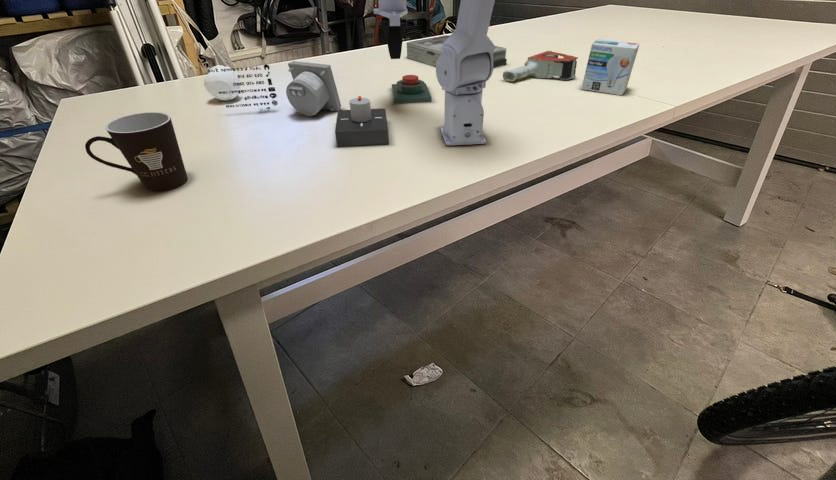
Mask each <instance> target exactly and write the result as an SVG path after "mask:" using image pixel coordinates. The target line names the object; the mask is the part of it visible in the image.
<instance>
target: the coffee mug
mask: <svg viewBox="0 0 836 480" xmlns="http://www.w3.org/2000/svg"><path fill="white" fill-rule="evenodd" d="M105 130H106V132H107V134H108V135H109V136H110V137H108V136H102V135H101V136H99V135H98V136H93V137H91V138H88V140H87V141H86V142H85V144H84V148H85V151H86V154H87V155H88V156H89V157H90V158H92V160H95V161H96V162H98V163H101V164H103V165H106V166H107V167H112V168H116V169H119V170H122V171H126V172H130V173H132V174H134V175H135V176H137V178H138V180H139V181H140V182H141V184H142V186H143V187H144V188H145V190H147V191H149V192H154V193H156V192H157V193H158V192H159V193H160V192H168V191H171V190H175V189H177V188H179V187H181V186H183V185H184V184H186V183H187V182H188V178H189V177H188V174H187V171H186V167H185V163H184V160H183V157H182V153H181V150H180V146H179V142H178V138H177V135H176V131H175V127H174V124H173V121H172V117H171V115H169V114H168V113H166V112H159V111H148V112H137V113H132V114H128V115H124V116H121V117H117V118H115V119H113V120H111V121H109V122H108V123H107V124H105ZM98 141H99V142H105V143H108V144H111V145H112V147H114V148H116V149H118V150H119V151H120V153H121V154H122V156H123V157H124V159H125V160H126V162H127V163H128V165H129V166H130V167H129V166H126V165H122V164H118V163H114V162H111V161H107V160H105V159H102V158H100V157H98V156H97V155H95V154H94V153H93V152H92V150H91V145H92V144H93V143H96V142H98Z"/></svg>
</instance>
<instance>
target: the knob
mask: <svg viewBox="0 0 836 480" xmlns="http://www.w3.org/2000/svg"><path fill="white" fill-rule="evenodd" d="M348 102H349V110H351V118H352V121H354V122H367V121H370V120H371V119H372V117H371V109H372V106H371V100H370V99H369V98H367V97H362V96H361V95H358V96H357V97H355V98H351V99H349V101H348Z"/></svg>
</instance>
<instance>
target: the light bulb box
mask: <svg viewBox="0 0 836 480" xmlns="http://www.w3.org/2000/svg"><path fill="white" fill-rule="evenodd" d="M639 47H640V42H628V41H619V40H609V39H608V40H607V39H598V38H597V39H596V40H595V41H594V42H592V44H591V45H590V50H589V54H588V58H587V64H586V68H585V72H584V76H583V80H582V85H581V87H580V89H581V90H585V91H592V92H597V93H605V94H612V95H618V96H623V95H624V93H625V92H626V90H627V88H628V85H629V81H630V78H631V74H632V71H633V67H634V65H635V61H636V58H637V54H638V52H639Z"/></svg>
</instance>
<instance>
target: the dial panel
mask: <svg viewBox="0 0 836 480" xmlns="http://www.w3.org/2000/svg"><path fill="white" fill-rule="evenodd" d="M371 117H372V119H371V120H370V121H367V122H354V121H352V118H351V110H350V109H340V110H338V111H337V115H336V120H335V121H336V122H335V127H334V128H335V129H334V133H335V134H334V135H335V141H336V147H337V148H339V147H341V148H342V147H361V146H382V145H390V139H389V127H388V119H387V111H386V108H385V107H383V108H371Z"/></svg>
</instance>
